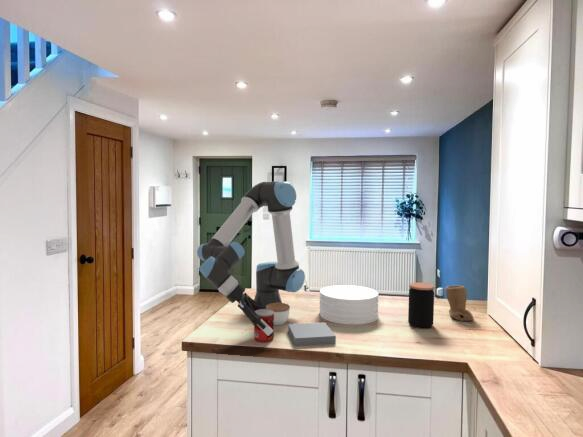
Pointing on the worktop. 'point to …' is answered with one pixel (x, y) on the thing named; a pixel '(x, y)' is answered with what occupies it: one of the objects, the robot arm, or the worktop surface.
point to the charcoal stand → (311, 334)
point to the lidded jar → (279, 312)
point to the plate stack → (349, 304)
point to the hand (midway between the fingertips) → (271, 328)
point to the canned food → (269, 320)
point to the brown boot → (458, 302)
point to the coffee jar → (421, 305)
